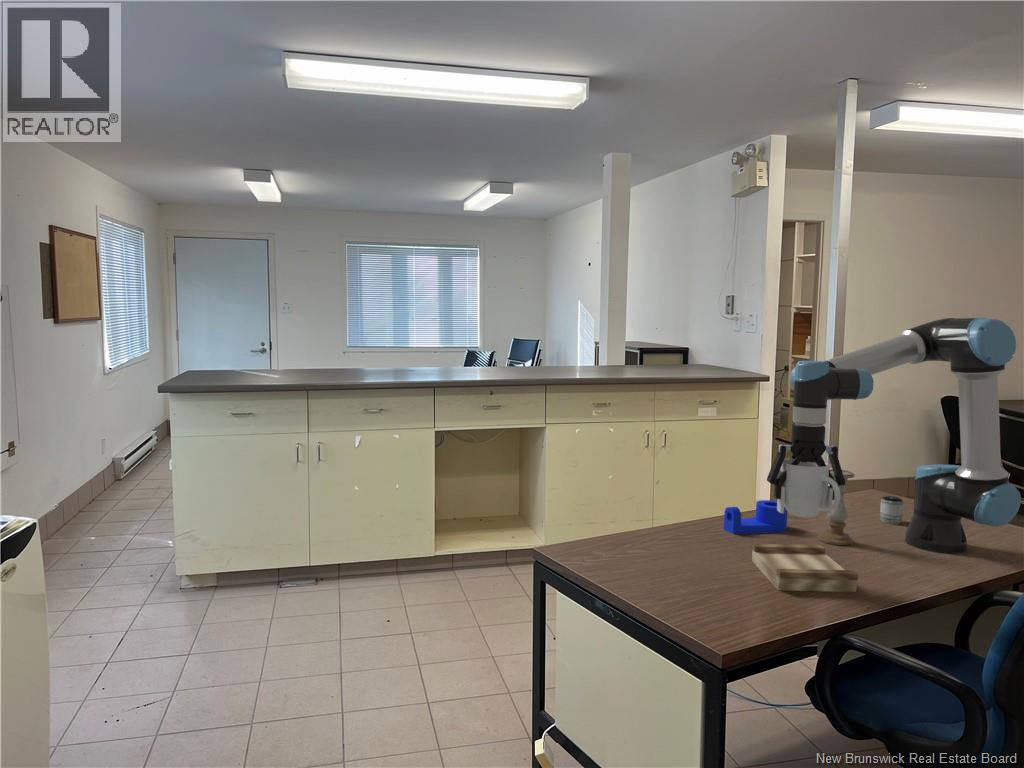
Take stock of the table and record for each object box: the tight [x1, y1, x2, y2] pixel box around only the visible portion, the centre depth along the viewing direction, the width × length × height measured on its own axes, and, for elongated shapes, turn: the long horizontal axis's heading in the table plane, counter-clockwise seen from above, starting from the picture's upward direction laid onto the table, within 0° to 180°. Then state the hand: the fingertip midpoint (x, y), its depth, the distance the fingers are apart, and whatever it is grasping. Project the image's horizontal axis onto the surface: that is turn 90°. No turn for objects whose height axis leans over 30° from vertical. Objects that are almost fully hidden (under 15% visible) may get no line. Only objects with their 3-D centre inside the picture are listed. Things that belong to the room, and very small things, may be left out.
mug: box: [779, 457, 840, 518], centre depth 169 cm, size 15×11×13 cm
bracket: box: [723, 499, 788, 535], centre depth 210 cm, size 20×9×8 cm, turn 107°
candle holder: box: [819, 468, 855, 546], centre depth 199 cm, size 9×9×20 cm
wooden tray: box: [751, 543, 859, 593], centre depth 172 cm, size 18×21×4 cm
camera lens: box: [879, 495, 904, 525], centre depth 219 cm, size 6×6×8 cm
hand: (804, 512), depth 171 cm, fingers closed on mug, 11 cm apart
